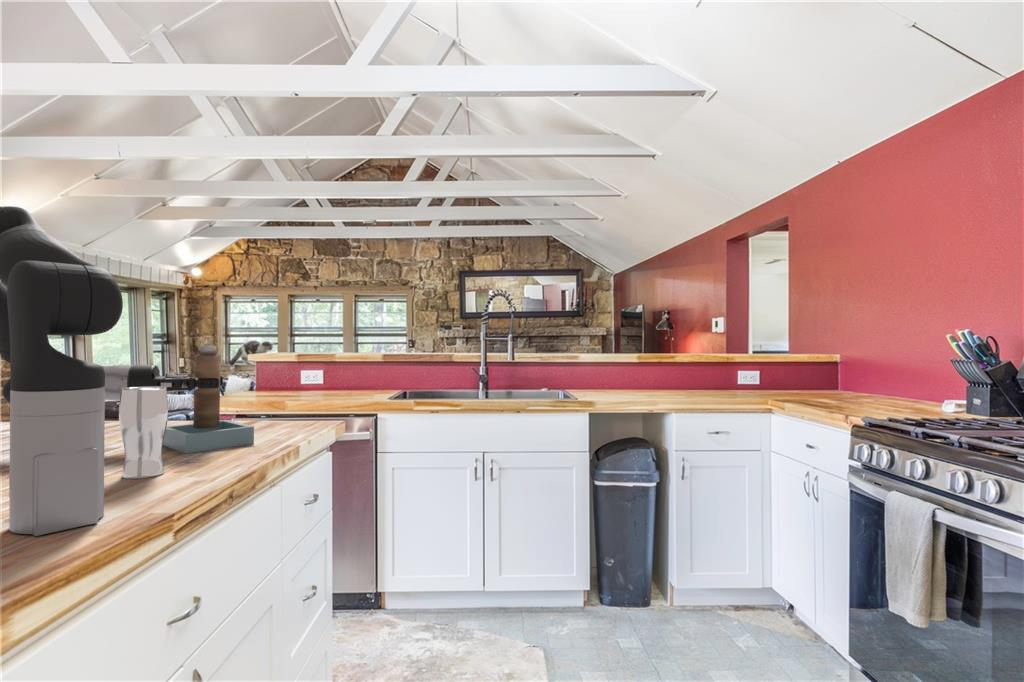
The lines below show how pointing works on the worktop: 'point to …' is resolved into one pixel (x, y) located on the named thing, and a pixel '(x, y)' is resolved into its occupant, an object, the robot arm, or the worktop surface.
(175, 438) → the tray
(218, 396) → the pepper mill
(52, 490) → the robot arm
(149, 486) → the worktop surface
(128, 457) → the beer glass
